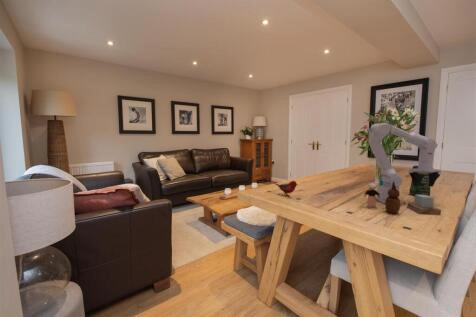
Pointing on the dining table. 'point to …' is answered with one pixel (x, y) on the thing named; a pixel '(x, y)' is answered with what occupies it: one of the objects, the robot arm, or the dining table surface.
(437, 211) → the walnut block
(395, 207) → the wooden figurine
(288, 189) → the decorative bird figurine
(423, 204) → the slate cube
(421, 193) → the coffee jar
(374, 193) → the grandmother figurine
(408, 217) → the dining table surface
